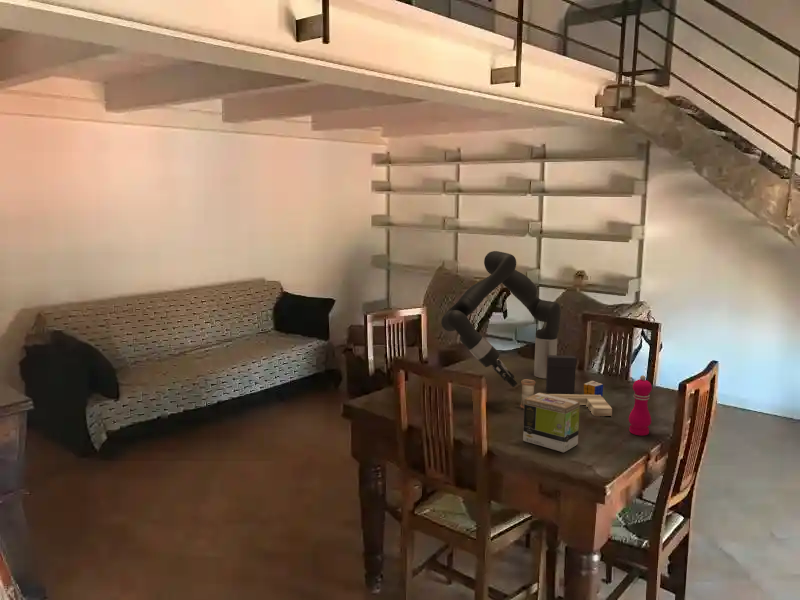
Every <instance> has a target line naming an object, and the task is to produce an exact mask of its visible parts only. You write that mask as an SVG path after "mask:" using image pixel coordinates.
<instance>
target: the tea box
mask: <svg viewBox="0 0 800 600" xmlns="http://www.w3.org/2000/svg"><path fill="white" fill-rule="evenodd" d="M549 394H550V393H545V392H544V393H543V392H537V393H534V395H532V396H530V397H528V398H525V400H524V409H523V428H522V430H523V432H522V433H523V436H522V438H523V439H522V441H523V442H526V443H530V444H534V445H536V446H540V447H544V448H547V449H551V450H553V451H558V452H561V453H565V452H567V451H569V450H571V449H573V448H574V447H575V446H577V445H578V443H579V432H580V431H579V429H580V426H579V425H580V407H581V406H580V401H576V400H571V399H567V398H562V397H558V396H553V395H549Z"/></svg>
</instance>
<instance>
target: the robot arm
mask: <svg viewBox="0 0 800 600" xmlns="http://www.w3.org/2000/svg"><path fill="white" fill-rule="evenodd" d="M483 263H484V269H485V270H486V272H488V274H490V275H488V276H487V277H485V278H484V279H483V280H481V281H478V282H477V283H475V284H473V285H471V286H470V287H469V288H468V289H467V290H466V291H465V292H464V293H463V294H462V295H461V297H460V298H459V299H458V301H457V302H456V303H454V305H452V306H451V308H449V309H448V310H447V311H446V312H445V314H443V316H442V318H441V321H440V322H441V327H442V329H444V330H445V331H447V332H454V331H456V332H457V333H458V335H459V341H460V342H461V344H463V346H464V347H465V348H466V349H468V351H469V352H470V353H471V354H472V355H473V357H475V359H477V360H478V362H480V363H481V365H482V366H483V367H485V368H488V367H490V366H491V367H492V370H493V371H494V372H496V373H497V374H498V376H499V377H501V378H502V380H503V381H505V382H507V383H508V384H509V385H510V386H511V387H512V388H515V386H517V385H518V382H517V381H516V379H515V375H514V374H513V373H512V372H510V370H509V369H508V367H507V366H506V364H504V362H503V361H502V360H501V359H499V357H500V352H499V351H498V350H497V349H496V348H495V346H493V345H492V344H491V343H490V342H489V341H488V340H487V339H486V338H485V337H483V336H482V335H481V334H480V332H478V331H477V330H476V329H475V327H474V325H473V324H472V323H471V320H470V319H469V318H468V316H470V315H471V314H472V313H474V312H475V310H477V308H478V307H479V305H481V303H482V302H483V300H485V299H486V297H488V296H489V294H491V293H492V292H493V291H494V290H495V289H497V288H498V287H499V286H500V285H503V286H504V287H505V288H506V289H508V290H509V292H510V293H511V294H512V295H513V296H514V297H515V298H516V299H517V300H518V301H519V302H521V304H522V305H523V306H524V307H525V308H526V309H527V310H528V311H529V313H530V315H532V317H533V318H534V319H535V320H536V321H538V322H542V323H545V325H546V326H545V327H544V328H540V329H537V330H536V331H535V341H534V343H535V345H534V364H533V365H534V366H533V368H534V369H533V376H534V377H536V378H540V379H546V375H547V356H548V355H557V353H558V352H557V351H558V335H559V331H560V323H561V310H562V309H561V305H560V303H558V302H556V301H551V300H545V299H541V298H539V296H538V288H537V286H536V284H535V283H534V282H533V281H532V280H531V278H529V277H528V276H527V275H526V274H523V273H522V272H520V271H518V270H516V268H517V259H516V257H515V255H514V254H511V253H508V252H503V251H497V250H492V251H489V252H488V253H487V254H486V255H485V257H484V260H483Z"/></svg>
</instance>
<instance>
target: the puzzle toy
mask: <svg viewBox="0 0 800 600" xmlns="http://www.w3.org/2000/svg"><path fill="white" fill-rule="evenodd" d="M603 394H604V384H603V383H600V382H597V381H595V380H590V381H588V382H585V383H583V395H601V396H602V397H604V395H603Z"/></svg>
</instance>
